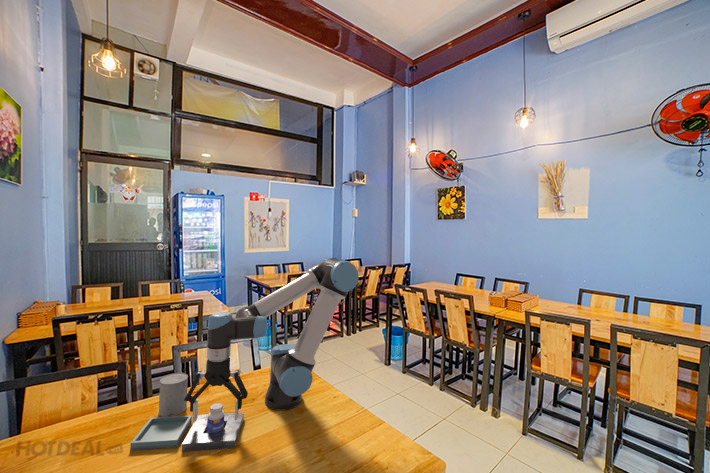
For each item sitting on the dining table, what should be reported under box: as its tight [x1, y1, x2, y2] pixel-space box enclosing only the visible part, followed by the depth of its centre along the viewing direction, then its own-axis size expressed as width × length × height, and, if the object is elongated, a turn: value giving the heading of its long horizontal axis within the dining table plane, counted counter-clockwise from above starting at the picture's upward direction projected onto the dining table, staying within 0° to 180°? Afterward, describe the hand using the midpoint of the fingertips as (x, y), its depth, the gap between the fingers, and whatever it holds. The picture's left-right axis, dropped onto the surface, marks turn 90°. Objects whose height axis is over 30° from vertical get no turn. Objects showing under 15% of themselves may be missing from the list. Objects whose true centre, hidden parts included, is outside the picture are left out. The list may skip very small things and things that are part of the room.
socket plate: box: [181, 412, 245, 453], centre depth 107 cm, size 16×16×2 cm
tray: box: [129, 415, 193, 452], centre depth 105 cm, size 14×14×2 cm
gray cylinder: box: [158, 372, 189, 417], centre depth 121 cm, size 10×10×12 cm
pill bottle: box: [207, 402, 225, 433], centre depth 107 cm, size 5×5×10 cm
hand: (215, 419), depth 107 cm, fingers open, 13 cm apart
